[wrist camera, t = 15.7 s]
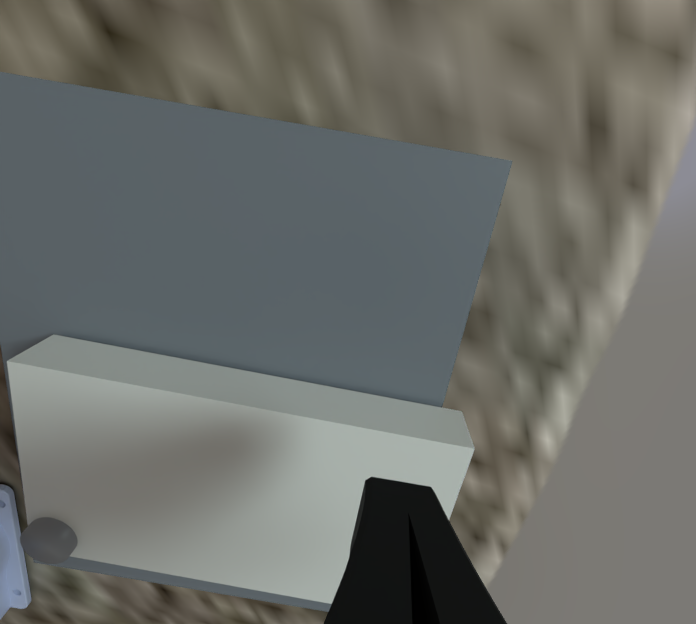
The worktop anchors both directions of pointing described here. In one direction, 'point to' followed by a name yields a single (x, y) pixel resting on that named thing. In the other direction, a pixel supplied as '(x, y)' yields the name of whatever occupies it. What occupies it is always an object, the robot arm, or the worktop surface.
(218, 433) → the cover
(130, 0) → the worktop surface
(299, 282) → the gray storage bin
